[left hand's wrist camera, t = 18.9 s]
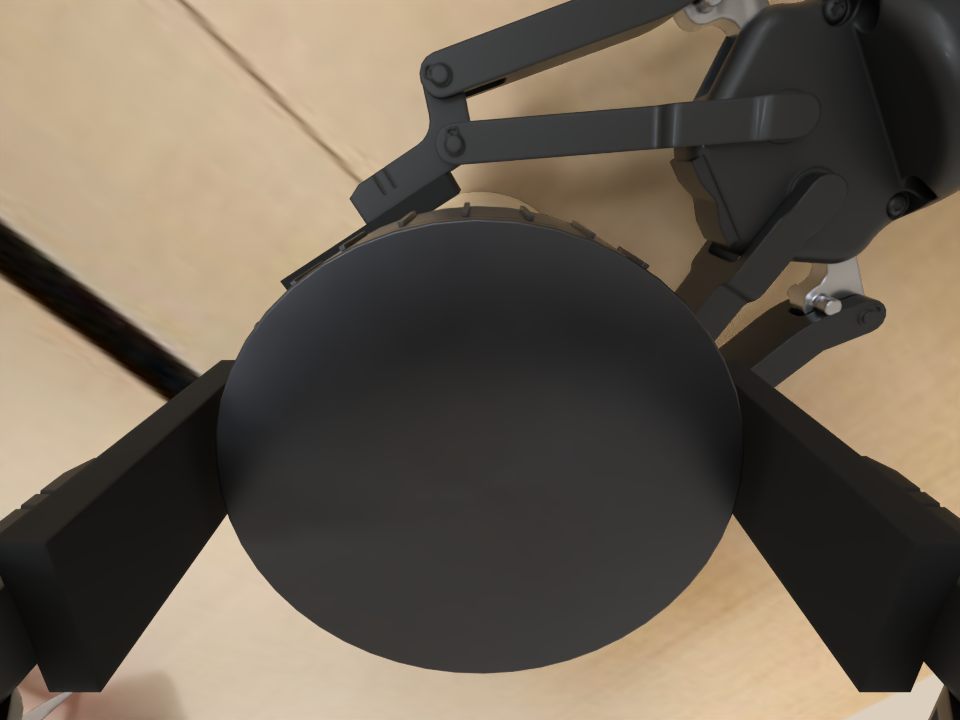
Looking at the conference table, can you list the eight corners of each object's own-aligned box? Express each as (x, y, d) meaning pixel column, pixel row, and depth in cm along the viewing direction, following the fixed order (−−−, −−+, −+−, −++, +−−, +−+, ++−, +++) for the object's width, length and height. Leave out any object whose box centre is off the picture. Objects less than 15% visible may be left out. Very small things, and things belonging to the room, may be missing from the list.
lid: (755, 232, 11) (829, 252, 8) (643, 608, 14) (673, 693, 12) (253, 172, 10) (189, 177, 8) (269, 576, 14) (228, 657, 12)
